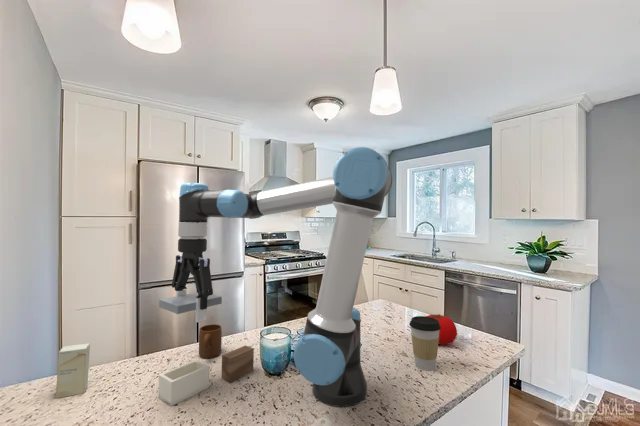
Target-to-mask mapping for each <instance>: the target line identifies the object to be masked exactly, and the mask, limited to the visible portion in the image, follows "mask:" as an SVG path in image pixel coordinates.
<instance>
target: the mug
mask: <svg viewBox="0 0 640 426" xmlns="http://www.w3.org/2000/svg"><path fill="white" fill-rule="evenodd" d="M222 333H223V330H222V326H221V324H207V325H203V326H201V327H200V328H199V332H198V355H199V357H200V358H202V359H213V358H217V357H218V356H219V355H221V353H222V343H223V342H222V339H223V336H222V335H223V334H222Z"/></svg>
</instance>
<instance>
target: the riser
mask: <svg viewBox="0 0 640 426" xmlns="http://www.w3.org/2000/svg"><path fill="white" fill-rule="evenodd" d="M254 350H255V348H254V347H251V346H249V345H243V346H241V347H238V348H236V349H233V350H230V351H228V352H225V353H223V354H221V375H220V376H221V380H223V381H225V382H227V383H229V384H231V383H233V382H235V381H236V380H239V379H241V378H242V377H244V376H246V375H248V374H251V373H252V372H254V369H255V368H254V365H255V364H254V361H255V360H254V358H255V357H254V355H255V354H254V353H255V351H254Z"/></svg>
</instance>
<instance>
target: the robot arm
mask: <svg viewBox="0 0 640 426" xmlns="http://www.w3.org/2000/svg"><path fill="white" fill-rule="evenodd" d="M332 171H333V172H332V176H330V177H326V178H320V179H315V180H310V181H305V182H301V183H296V184H290V185H286V186H281V187H277V188H272V189H271V188H270V189H267V190H262V191H257V192H252V193H244V192H243V191H242V190H240V189H231V188H230V189H218V190H214V189H213V190H209V185H207V184H206V183H199V182H184V183H182V184H181V185H180V190H179V197H178V200H179V203H178V204H179V205H178V206H179V208H178V209H179V211H178V212H179V213H178V214H179V215H178V229H177V230H178V232H177V233H178V236H177V237H179V239H178V240H177V241H178V242H177V251H178V252H179V253H182V254H180V255H179V254H178V255H175V265H174V269H173V274H172V275H173V276H172V281H171V287H172V289H173V288H174V291H175V297H176V296H181V295H186V294H187V289H188V288H187V287H186V286H187V283H188V281H189V277H190V275H192V276H193V277H192V278H193V279H194V285H195V288H196V291H197V292H198V296H197V297H196V310H195V323H200V322H203V321H207V316H208V315H207V312H208V311H207V309H208V307H207V298H208V296H210V295H213V294H214V290H213V288H214V287H213V283H212V282H213V281H212V275H211V268H210V266H211V259H210V258H208V257H207V258H204V255H203V253H204V252H206V251H207V249H208V245H207V244H208V240H207V238H205V237H207V236H208V218H227V219H232V218H233V219H235V218H237V219H238V218H239V219H250V220H252V219H253V220H254V219H259V218H261V217H263V216H269V215H274V214H280V213H287V212H291V211H298V210H303V209H309V208H316V207H321V206H327V205H333V206H334V208H335V209H336V214H335V218H334V224H333V228H332V232H331V236H330V241H329V242H330V243H329V245H328V246H329V247H328V251H327V255H326V260H325V264H324V265H325V266H324V269H323V274H322V278H321V283H320V287H319V292H318V297H317V301H316V307H315V308H314V309H312V310H310V311H309V312H308V313H307V317H306V322H305V326H304V331H303V335H302V337H300V338H299V340H298V341H297V343H296V345H295V347H294V350H293V360H294V364H295V367H296V369H298V371H299V374H300V375H301V377H303V378H304V379H305V380H306V381H308V382H309V383H312V395H313V396H314V397H315V398H316V399H317V400H318V401H319V402H321V403H323V404H325V405H328V406H334V407H351V406H354V405H357V404H359V403H361V402H362V401H364V400H365V398H366V396H367V393H368V390H367V389H368V384H367V380H366V377H365V374H364V371H363V367H362V363H361V323H362V319H361V311H360V310H358V309H357V308H356V307H355V308H354V305H355V301H356V297H357V292H358V287H359V283H360V278H361V275H362V274H361V273H362V269H363V266H364V261H365V256H366V252H367V247H368V243H369V239H370V234H371V229H372V224H373V220H374V219H375V218H376V217H377V216H379V215H381V214H382V210H383V206H384V202H385V198H386V196H388V194H389V192H390V191H391V189H392V187H393V173H392V171H391V169H390V168H389V165H388V162H387V161H386V159H385V157H384V156H383V155H381V153H379V152H377V151H376V150H374V149H372V148H369V147H365V146H359V147H358V146H357V147H353V148H351V149H349V150H347V151H345V152H344V153H343V154H341V155H340V156H339V157H338V159H337V161H336V162H335V164H334V166H333V170H332ZM197 292H196V293H197ZM184 313H185V314H186V312H184ZM184 313H183V314H184ZM174 314H175V315H177V314H176V313H174ZM181 314H182V313H180V314H179V315H181Z"/></svg>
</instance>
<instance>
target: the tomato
mask: <svg viewBox="0 0 640 426" xmlns="http://www.w3.org/2000/svg"><path fill="white" fill-rule="evenodd" d="M425 316H426V317H431V318H434V319H437V320H438V321H439V324H440V326H441V329H440V330H439V343H438V345H444V346H445V345H449V344H452V343H454V341H455V340H456V339H457V336H458V330H457V326H456V324H455V322H454V320H453V319H451V318H450V317H448V316H445V315H443V314H442V315H441V313H439V314H432V313H431V314H430V313H429V314H428V315H425Z"/></svg>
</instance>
